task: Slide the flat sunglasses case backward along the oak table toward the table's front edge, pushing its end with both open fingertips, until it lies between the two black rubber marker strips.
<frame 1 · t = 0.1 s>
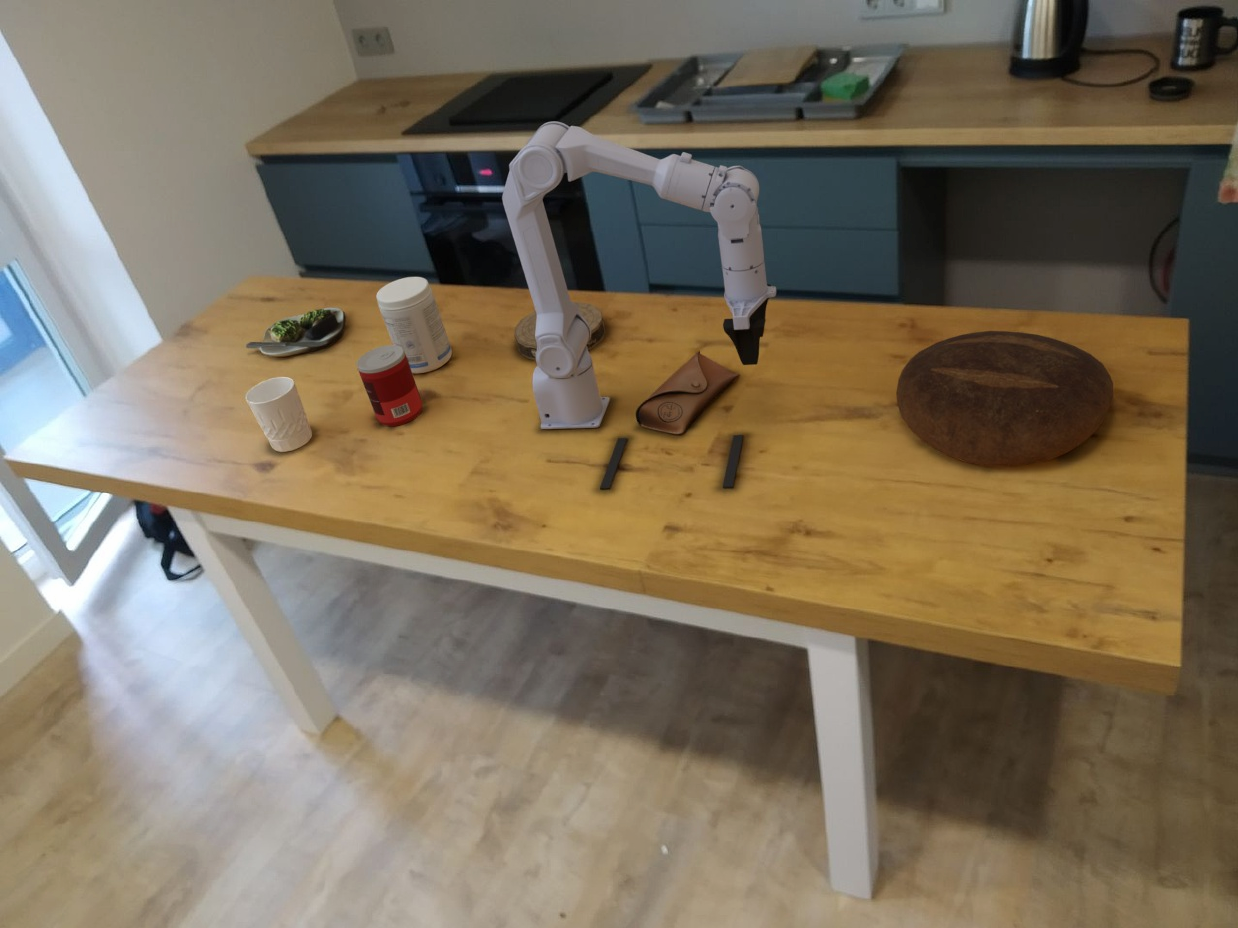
hand: (753, 349, 140), 10 cm above the table, tool pointing down, fingers open, 7 cm apart
white cup: (293, 441, 164), on the table
tan round flat disc: (561, 339, 176), on the table
canned food: (401, 415, 164), on the table
sunglasses case: (690, 401, 151), on the table
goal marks: (672, 462, 139), on the table
salad plate: (307, 338, 196), on the table
supplement tub: (427, 362, 178), on the table
bread: (999, 410, 135), on the table
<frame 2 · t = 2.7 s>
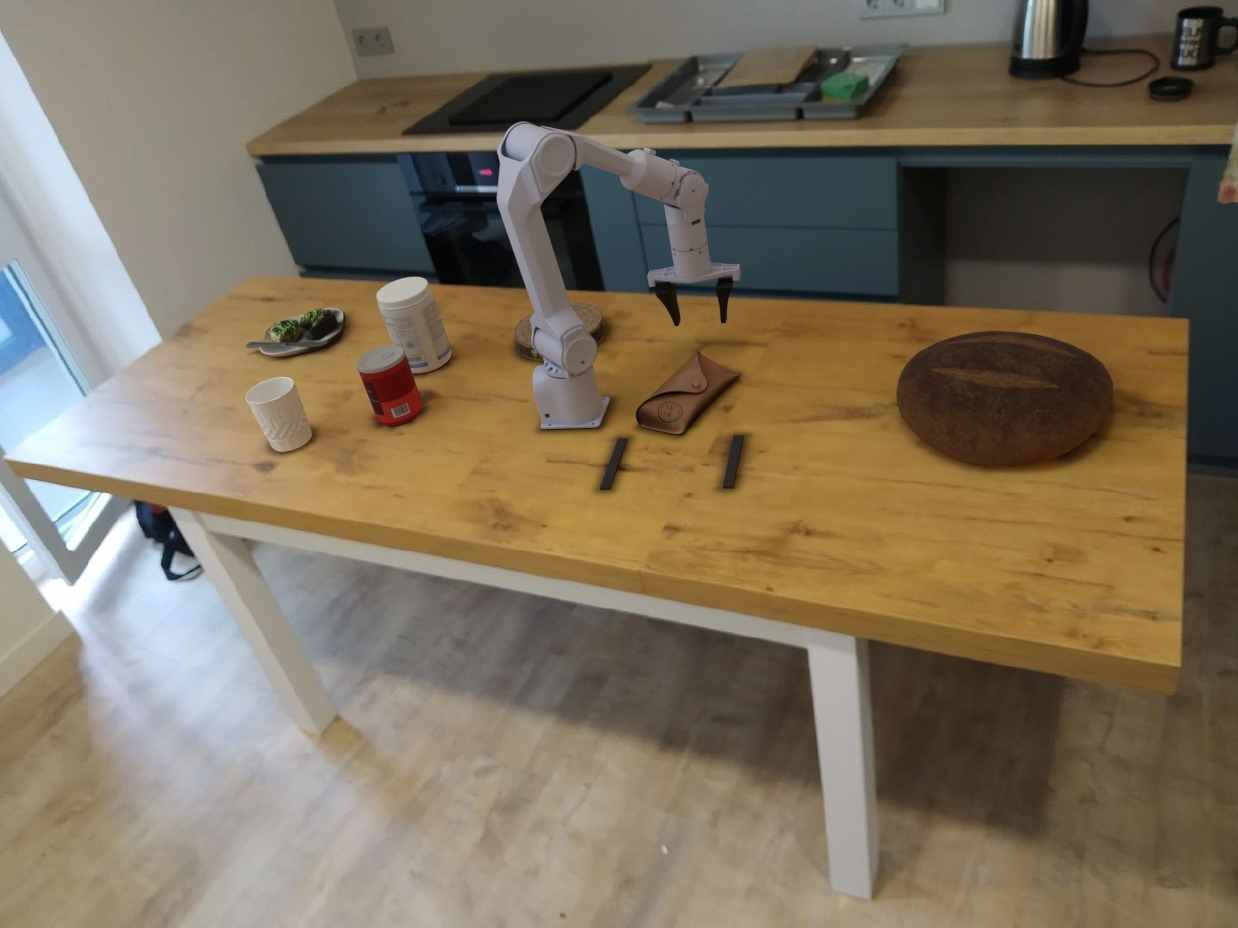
hand: (700, 321, 160), 5 cm above the table, tool pointing down, fingers open, 7 cm apart
nothing on the table moved.
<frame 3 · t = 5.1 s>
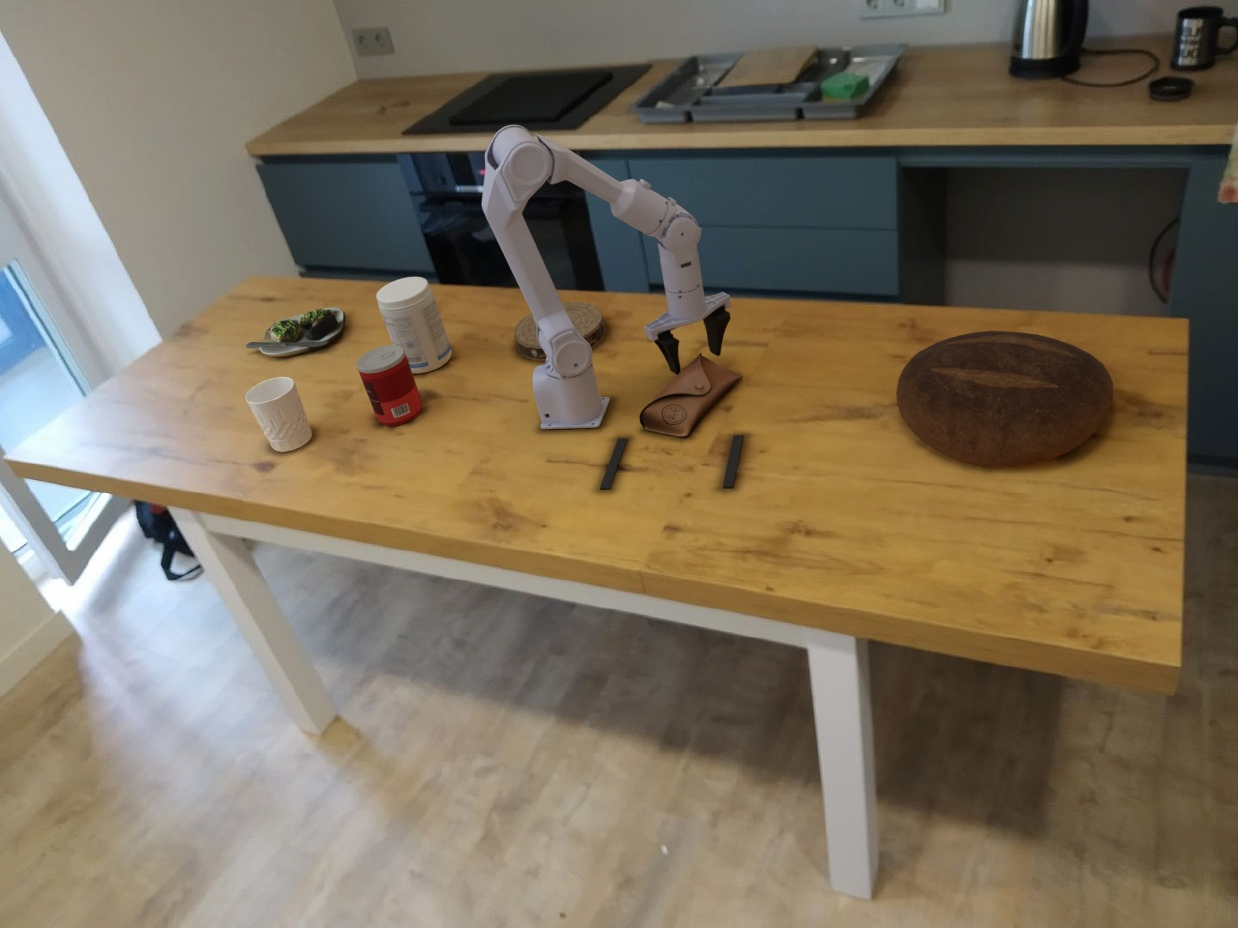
hand: (695, 362, 156), 2 cm above the table, tool pointing down, fingers open, 7 cm apart
sunglasses case: (693, 403, 151), on the table, touching gripper
everything else where it was.
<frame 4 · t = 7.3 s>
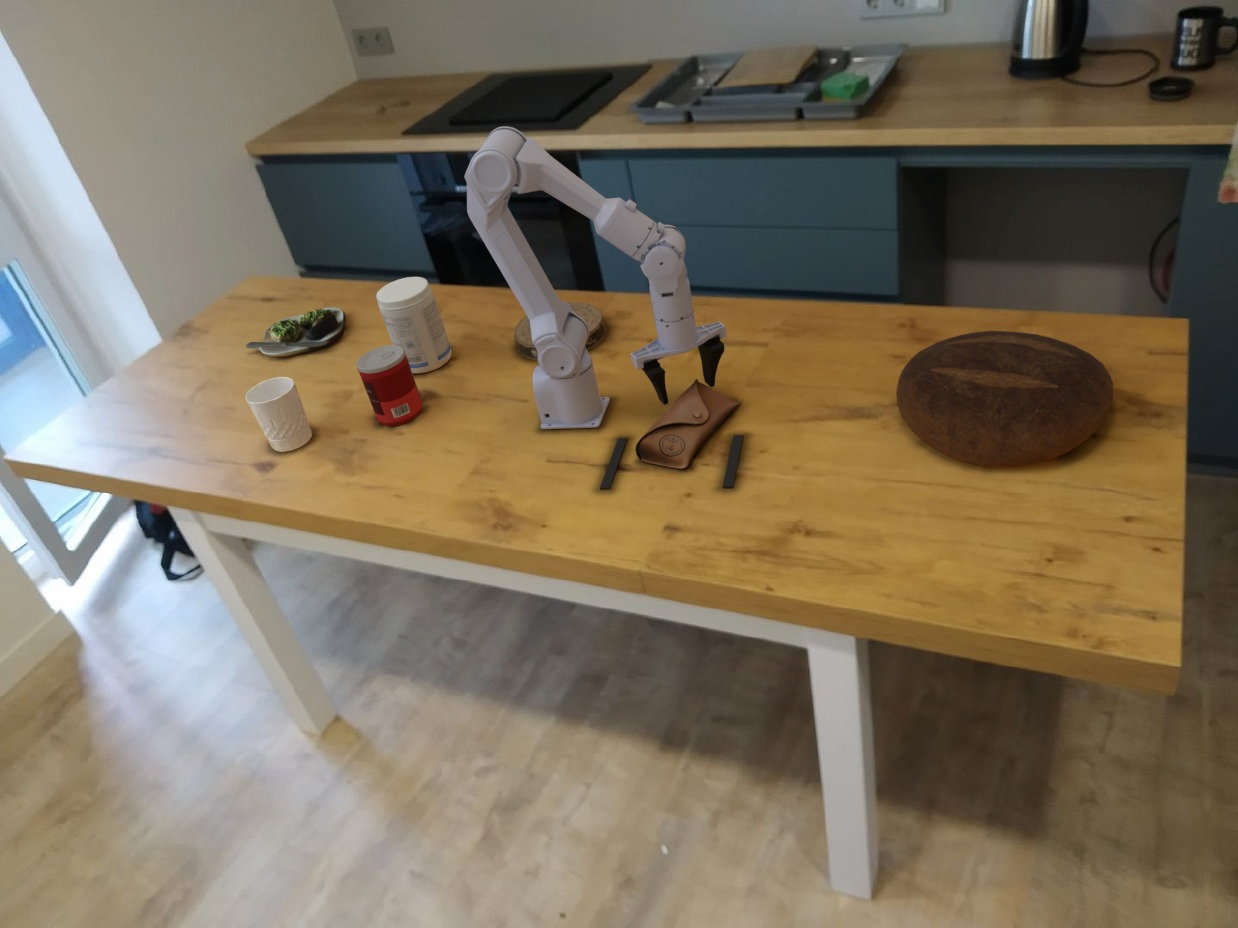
hand: (686, 392, 149), 2 cm above the table, tool pointing down, fingers open, 7 cm apart
sunglasses case: (691, 432, 145), on the table, touching gripper
everything else where it was.
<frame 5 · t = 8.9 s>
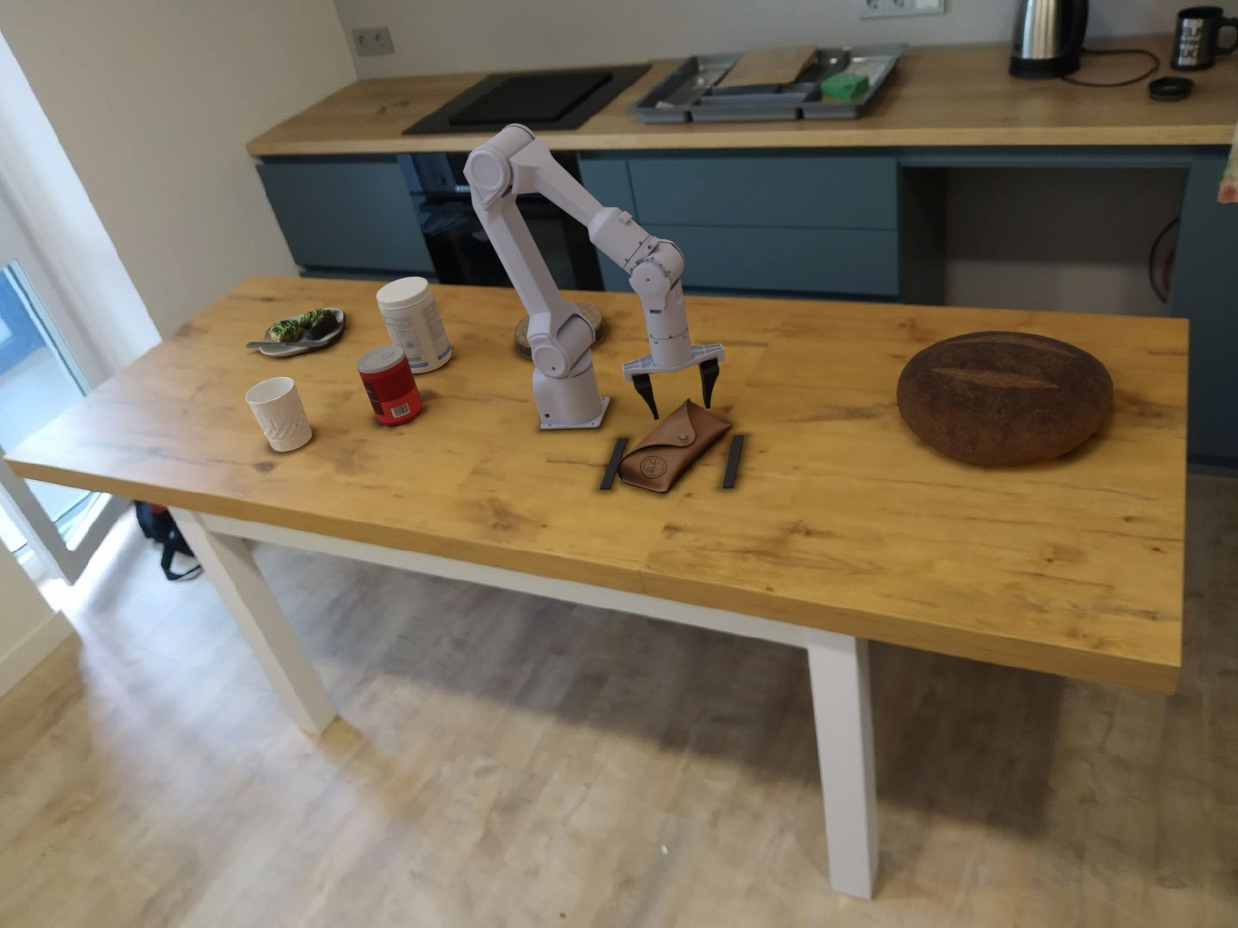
hand: (681, 410, 145), 2 cm above the table, tool pointing down, fingers open, 7 cm apart
sunglasses case: (678, 453, 141), on the table, touching gripper
everything else where it was.
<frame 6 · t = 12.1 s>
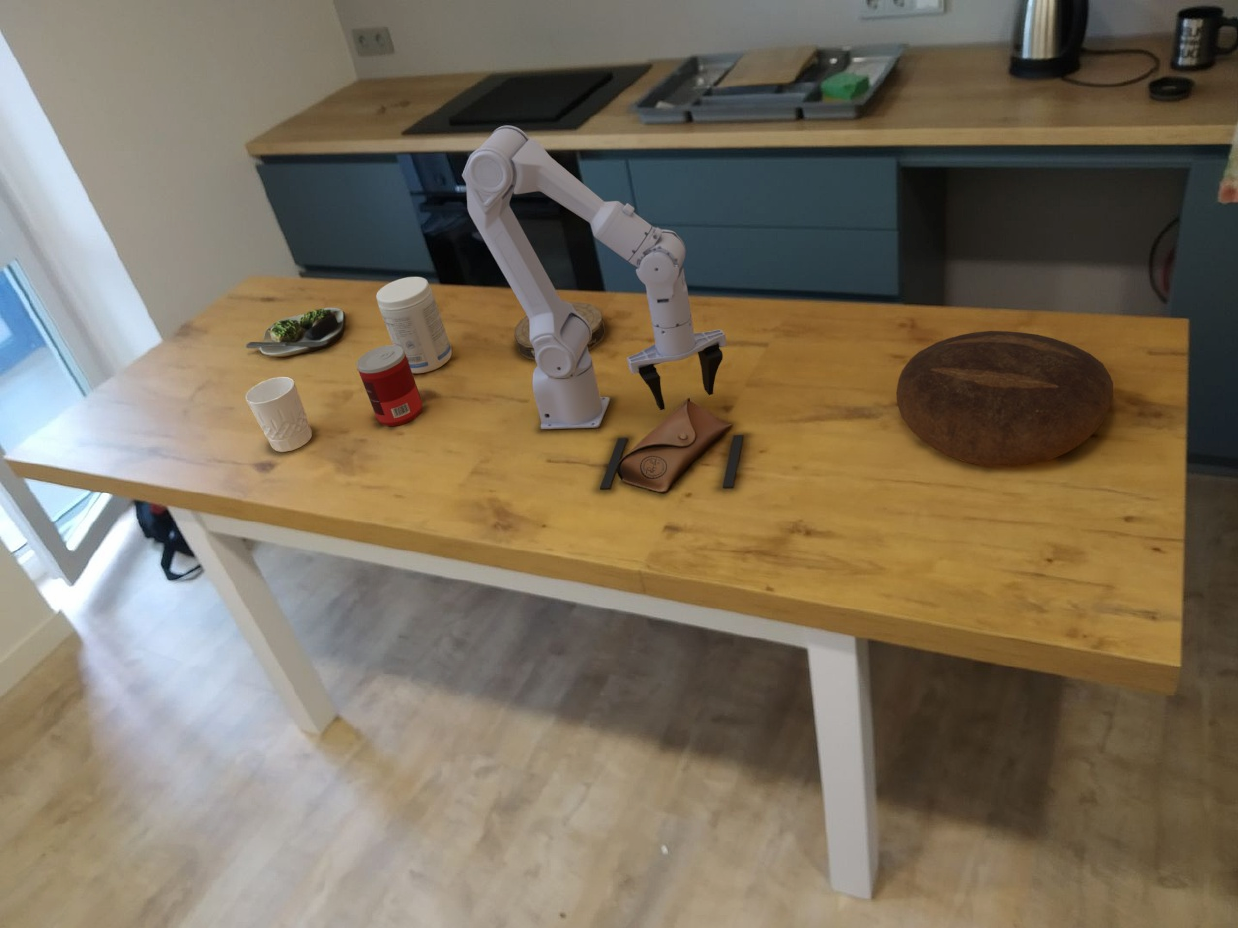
hand: (684, 399, 147), 2 cm above the table, tool pointing down, fingers open, 7 cm apart
sunglasses case: (678, 453, 141), on the table
everything else where it was.
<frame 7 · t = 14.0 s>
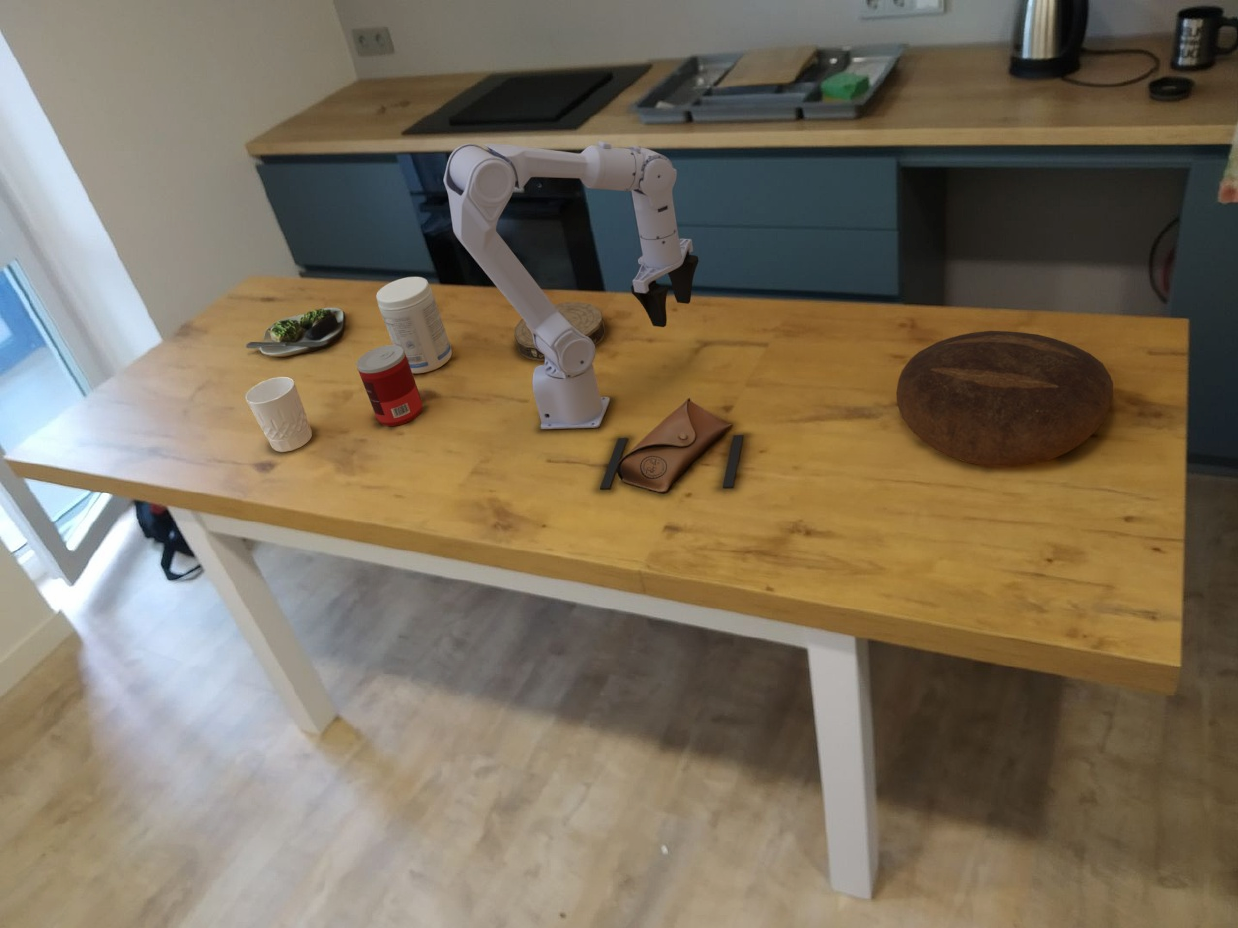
hand: (671, 313, 153), 10 cm above the table, tool pointing down, fingers open, 7 cm apart
nothing on the table moved.
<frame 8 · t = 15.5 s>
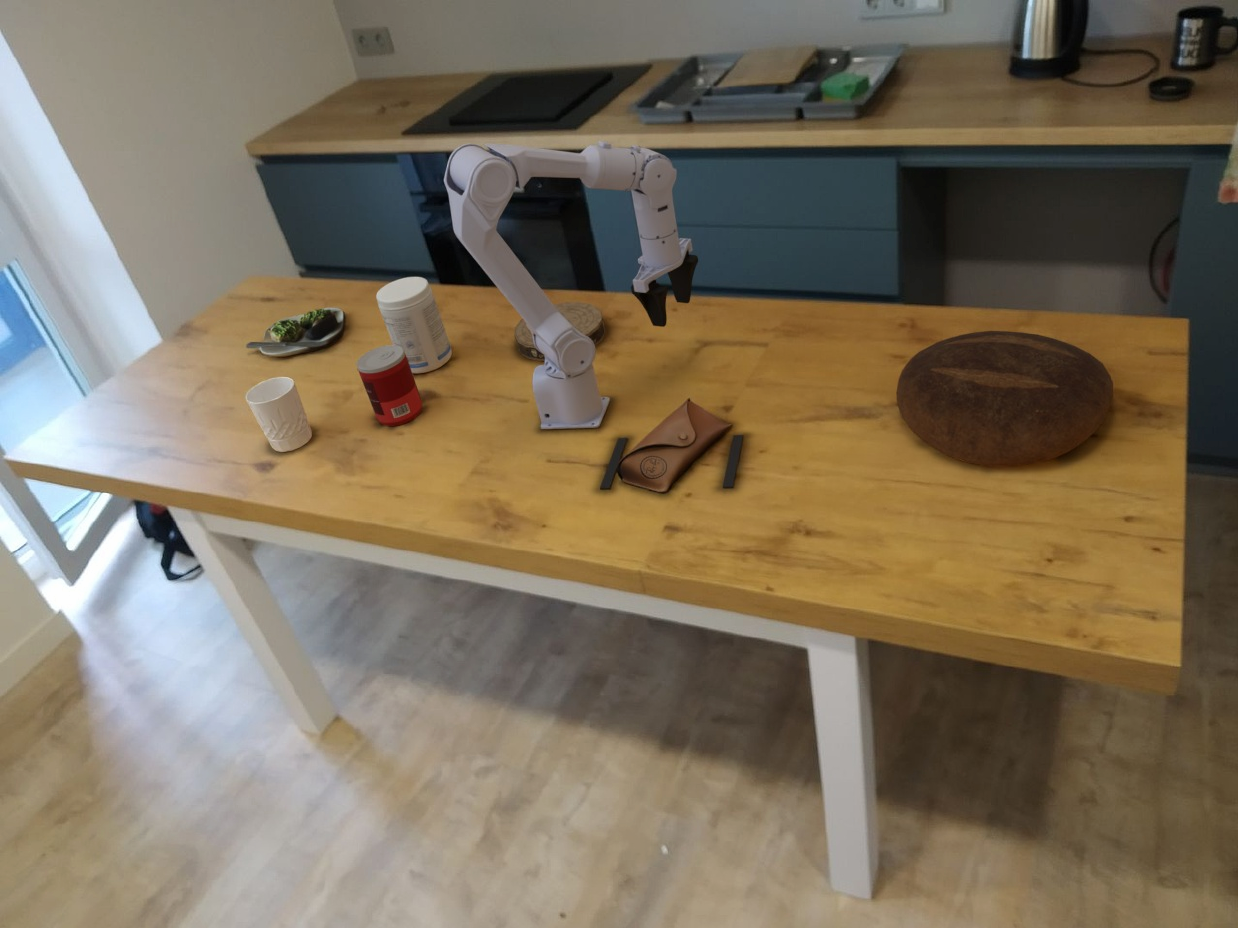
hand: (671, 313, 153), 10 cm above the table, tool pointing down, fingers open, 7 cm apart
nothing on the table moved.
at the end: sunglasses case inside the target area (2.6 cm from its centre), on the table; sunglasses case tilted 1°; sunglasses case moved 13.7 cm from its start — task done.
